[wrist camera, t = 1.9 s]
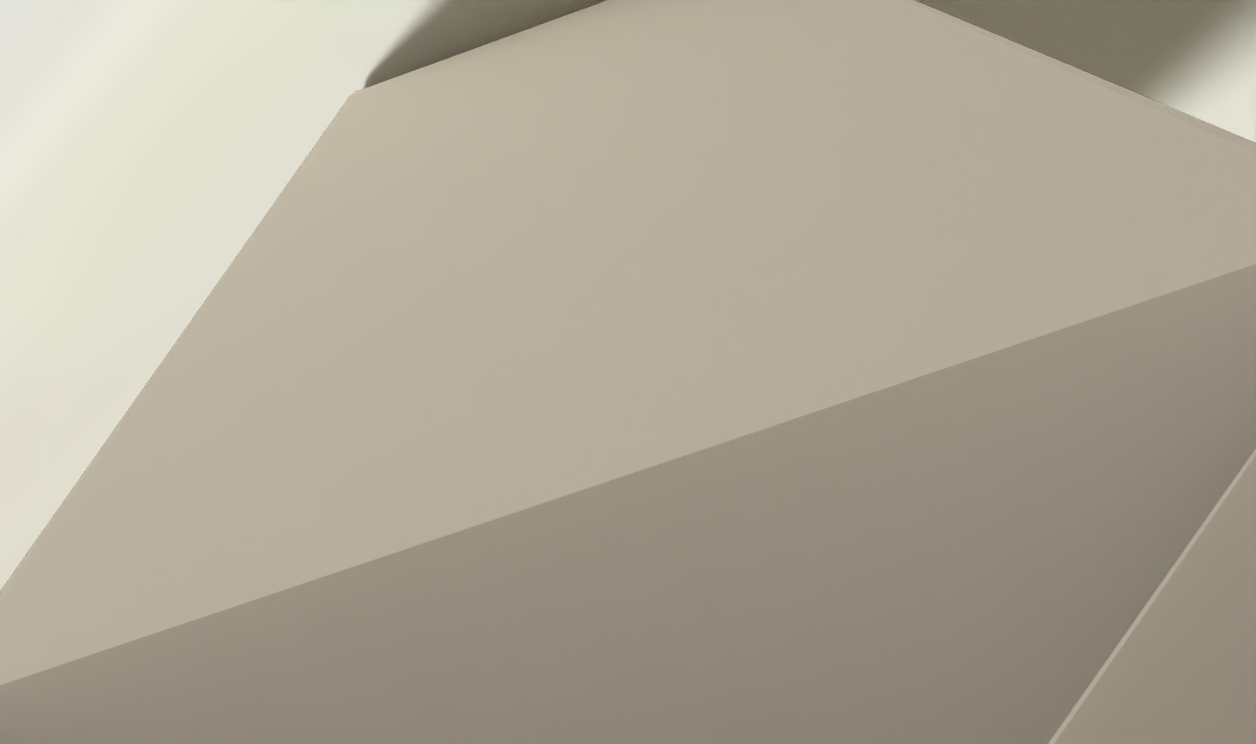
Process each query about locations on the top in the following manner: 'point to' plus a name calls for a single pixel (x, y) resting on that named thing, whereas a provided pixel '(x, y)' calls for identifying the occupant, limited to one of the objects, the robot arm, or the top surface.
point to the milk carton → (691, 413)
